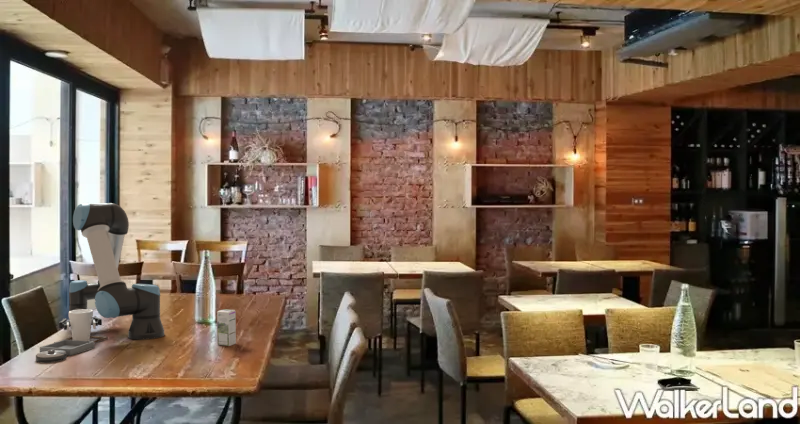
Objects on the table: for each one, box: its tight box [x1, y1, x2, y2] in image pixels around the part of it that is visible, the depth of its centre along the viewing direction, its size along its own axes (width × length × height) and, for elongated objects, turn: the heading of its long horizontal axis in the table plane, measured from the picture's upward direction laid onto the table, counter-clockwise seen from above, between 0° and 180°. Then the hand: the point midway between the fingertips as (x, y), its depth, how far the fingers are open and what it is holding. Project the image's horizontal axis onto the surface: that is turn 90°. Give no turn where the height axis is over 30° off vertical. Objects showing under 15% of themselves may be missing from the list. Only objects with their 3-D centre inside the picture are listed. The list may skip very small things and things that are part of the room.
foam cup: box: [68, 308, 94, 341], centre depth 301 cm, size 10×9×13 cm
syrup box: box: [216, 308, 237, 347], centre depth 296 cm, size 6×6×14 cm
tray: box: [39, 339, 95, 357], centre depth 284 cm, size 14×14×3 cm
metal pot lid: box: [35, 349, 67, 364], centre depth 270 cm, size 11×11×4 cm
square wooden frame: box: [53, 335, 109, 344], centre depth 301 cm, size 15×15×1 cm
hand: (81, 326), depth 297 cm, fingers closed on foam cup, 9 cm apart
